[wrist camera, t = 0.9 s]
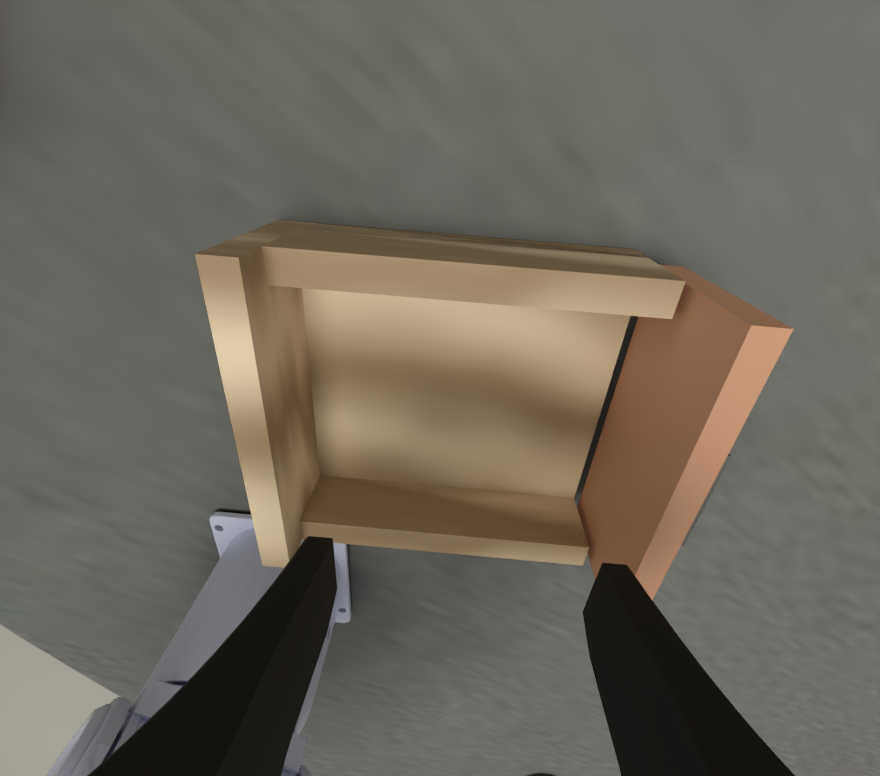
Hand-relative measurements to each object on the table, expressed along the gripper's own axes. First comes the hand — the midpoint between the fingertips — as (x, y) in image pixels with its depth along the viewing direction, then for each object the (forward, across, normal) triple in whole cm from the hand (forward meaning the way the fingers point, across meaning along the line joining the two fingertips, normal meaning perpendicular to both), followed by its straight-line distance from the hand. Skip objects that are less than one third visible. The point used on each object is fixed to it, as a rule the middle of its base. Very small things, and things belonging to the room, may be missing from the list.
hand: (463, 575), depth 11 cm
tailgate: (+9, -7, 0) cm, 12 cm away
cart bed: (+10, +1, 0) cm, 10 cm away
